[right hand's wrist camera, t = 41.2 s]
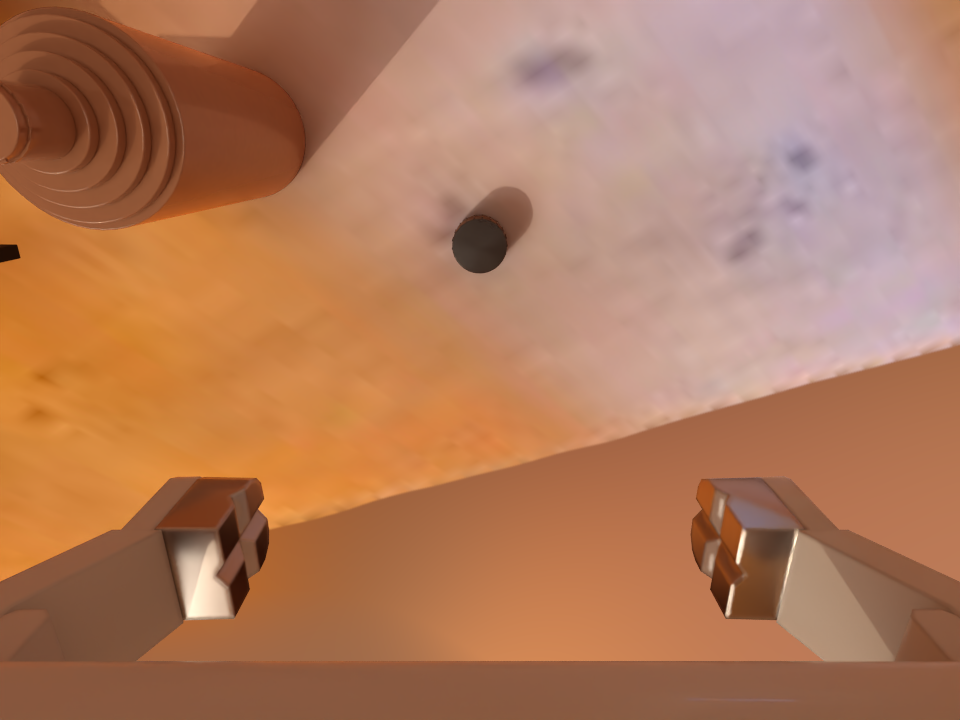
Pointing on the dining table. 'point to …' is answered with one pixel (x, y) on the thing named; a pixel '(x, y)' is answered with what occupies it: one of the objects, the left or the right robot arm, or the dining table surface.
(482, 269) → the cap
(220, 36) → the dining table surface
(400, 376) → the dining table surface
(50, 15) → the bottle
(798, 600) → the right robot arm
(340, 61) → the dining table surface
